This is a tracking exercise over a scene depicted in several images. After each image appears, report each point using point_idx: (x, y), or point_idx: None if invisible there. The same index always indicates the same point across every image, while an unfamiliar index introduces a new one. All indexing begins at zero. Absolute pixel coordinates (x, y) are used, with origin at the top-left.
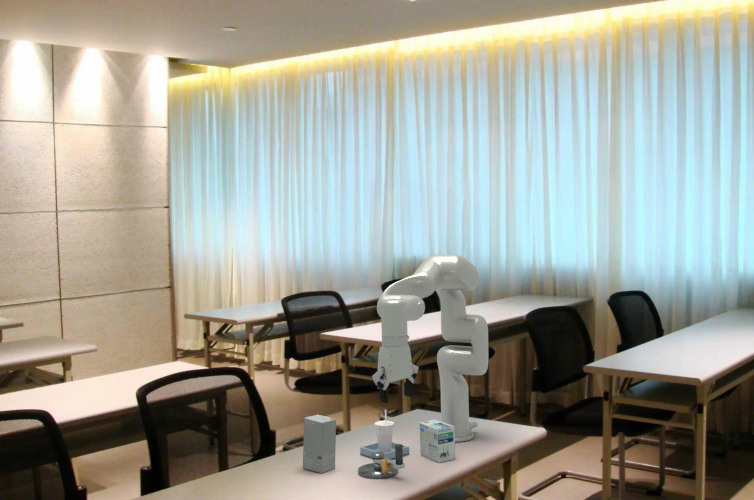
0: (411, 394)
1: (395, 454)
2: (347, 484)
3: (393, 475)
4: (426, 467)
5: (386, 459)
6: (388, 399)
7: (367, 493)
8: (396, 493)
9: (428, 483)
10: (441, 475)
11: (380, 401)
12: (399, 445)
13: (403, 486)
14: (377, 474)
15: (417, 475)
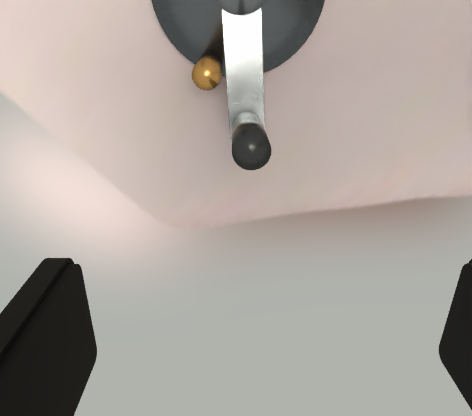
0: (455, 378)
1: (233, 131)
2: (51, 10)
3: None
4: (408, 91)
5: (215, 80)
6: (81, 388)
7: (65, 144)
8: (142, 209)
9: (277, 214)
10: (366, 191)
11: (49, 265)
12: (248, 158)
13: (200, 179)
14: (189, 42)
15: (314, 133)
